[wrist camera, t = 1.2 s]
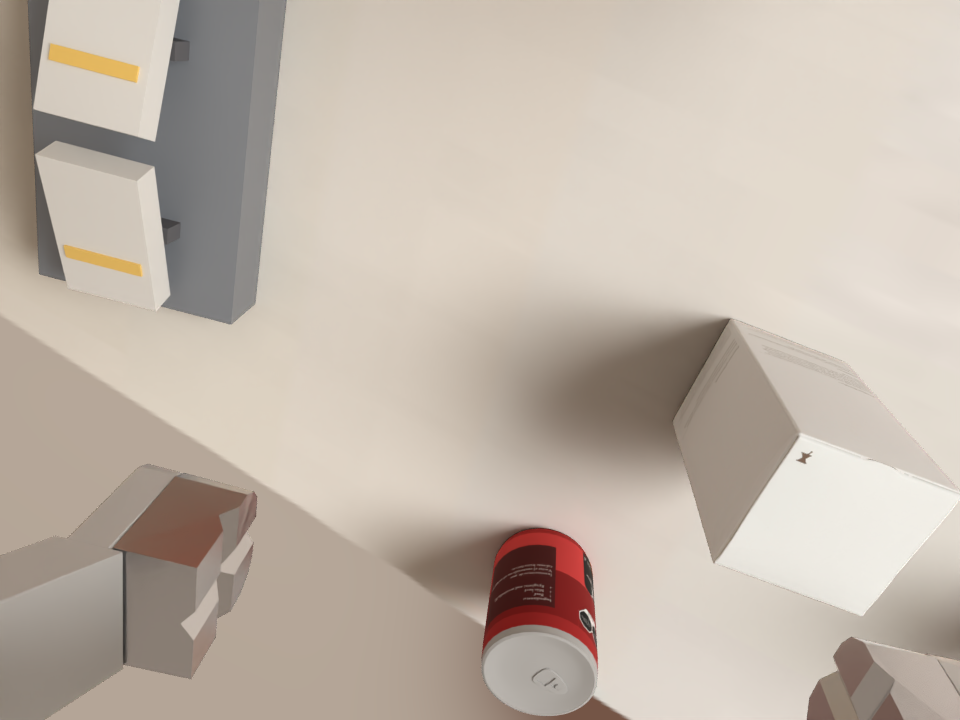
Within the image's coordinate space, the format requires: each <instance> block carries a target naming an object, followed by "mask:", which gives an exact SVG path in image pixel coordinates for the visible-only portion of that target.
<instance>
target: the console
mask: <svg viewBox="0 0 960 720" xmlns="http://www.w3.org/2000/svg"><path fill="white" fill-rule="evenodd" d="M48 4H49V0H28V17H29V42H30V66H31V90H32V114H33V139H34V163H35V187H36V212H37V236H38V260H39V274H40V275H44V276H48V277H52V278H55V279H59V280H63V281H66V278H65V274H64V270H63V266H62V262H61V258H60V254H59V250H58V246H57V242H56V238H55V234H54V230H53V226H52V222H51V217H50V213H49V209H48V205H47V201H46V197H45V193H44V189H43V185H42V181H41V177H40V173H39V169H38V165H37V161H36V157H35V154H36V153H38V152H39V151H41V150H42V149H44V148H45V147H47V146H48V145H50V144H52V143H53V142H55V141H59V142H63V143H67V144H71V145H74V146H78V147H82V148H86V149H90V150H94V151H97V152H101V153H105V154H109V155H113V156H116V157H120V158H124V159H128V160H132V161H135V162H139V163H143V164H147V165H151V166H154V168H155V176H156V184H157V192H158V200H159V208H160V216H161V224H162V232H163V240H164V248H165V256H166V264H167V271H168V279H169V287H170V296H169V297H168V298H167V300H166V301H165V302H164V303H163V304H162V305H161V306H162V307H166V308H170V309H174V310H177V311H181V312H185V313H189V314H193V315H196V316H200V317H204V318H208V319H212V320H215V321H219V322H223V323H227V324H232V323H233V322H235V321H236V320H237V319H238V318H239V317H240V316H242V315H243V314H244V313H245V312H246V311H247V310H248V309H250V308H251V307H252V306H253V305H254V304H255V301H256V291H257V281H258V271H259V262H260V252H261V242H262V233H263V223H264V213H265V203H266V194H267V184H268V174H269V164H270V155H271V145H272V135H273V125H274V116H275V106H276V96H277V87H278V77H279V67H280V57H281V48H282V38H283V28H284V18H285V9H286V0H180V2H179V8H178V14H177V19H176V25H175V31H174V36H173V42H172V48H171V54H170V59H169V65H168V71H167V77H166V82H165V88H164V94H163V99H162V105H161V111H160V117H159V122H158V128H157V134H156V139H155V142H154V141H150V140H147V139H143V138H139V137H135V136H131V135H127V134H124V133H120V132H116V131H112V130H108V129H105V128H101V127H97V126H93V125H89V124H86V123H82V122H78V121H74V120H70V119H67V118H63V117H59V116H55V115H52V114H48V113H45V112H41V111H38V110H35V109H33V107H34V100H35V93H36V86H37V79H38V72H39V65H40V58H41V52H42V45H43V38H44V31H45V24H46V17H47V10H48Z"/></svg>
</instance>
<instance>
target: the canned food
mask: <svg viewBox="0 0 960 720" xmlns="http://www.w3.org/2000/svg"><path fill="white" fill-rule="evenodd" d="M597 661H598V656H597V639H596V623H595V606H594V590H593V573H592V568H591V564H590V562H589V560H588V558H587V556H586V554H585V552H584V551H583V549H582V548H581V546H580V545H579V544H578V543H577V542H575V541H574V540H573V539H571V538H570V537H568V536H567V535H565V534H562V533H560V532H558V531H554V530H550V529H541V528H538V529H529V530H524V531H521V532H519V533H516V534H514V535H513V536H511V537H510V538H509V539H508V540H507V541H506V542H505V543H504V544H503V545H502V547H501V548H500V550H499V552H498V554H497V555H496V558H495V562H494V568H493V576H492V583H491V590H490V597H489V604H488V612H487V619H486V626H485V633H484V641H483V650H482V675H483V679H484V682H485V684H486V686H487V687H488V689H489V690H490V691H491V693H492V694H493V695H494V696H495V697H496V698H497V699H499V700H500V701H501V702H502V703H504V704H506V705H507V706H509V707H511V708H513V709H516V710H518V711H520V712H524V713H528V714H531V715H539V716H556V715H562V714H566V713H569V712H572V711H575V710H576V709H578V708H580V707H581V706H583V705H584V704H585V703H586V702H588V701H589V700H590V698H591V697H592V696H593V694H594V692H595V689H596V687H597V677H598V662H597Z"/></svg>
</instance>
